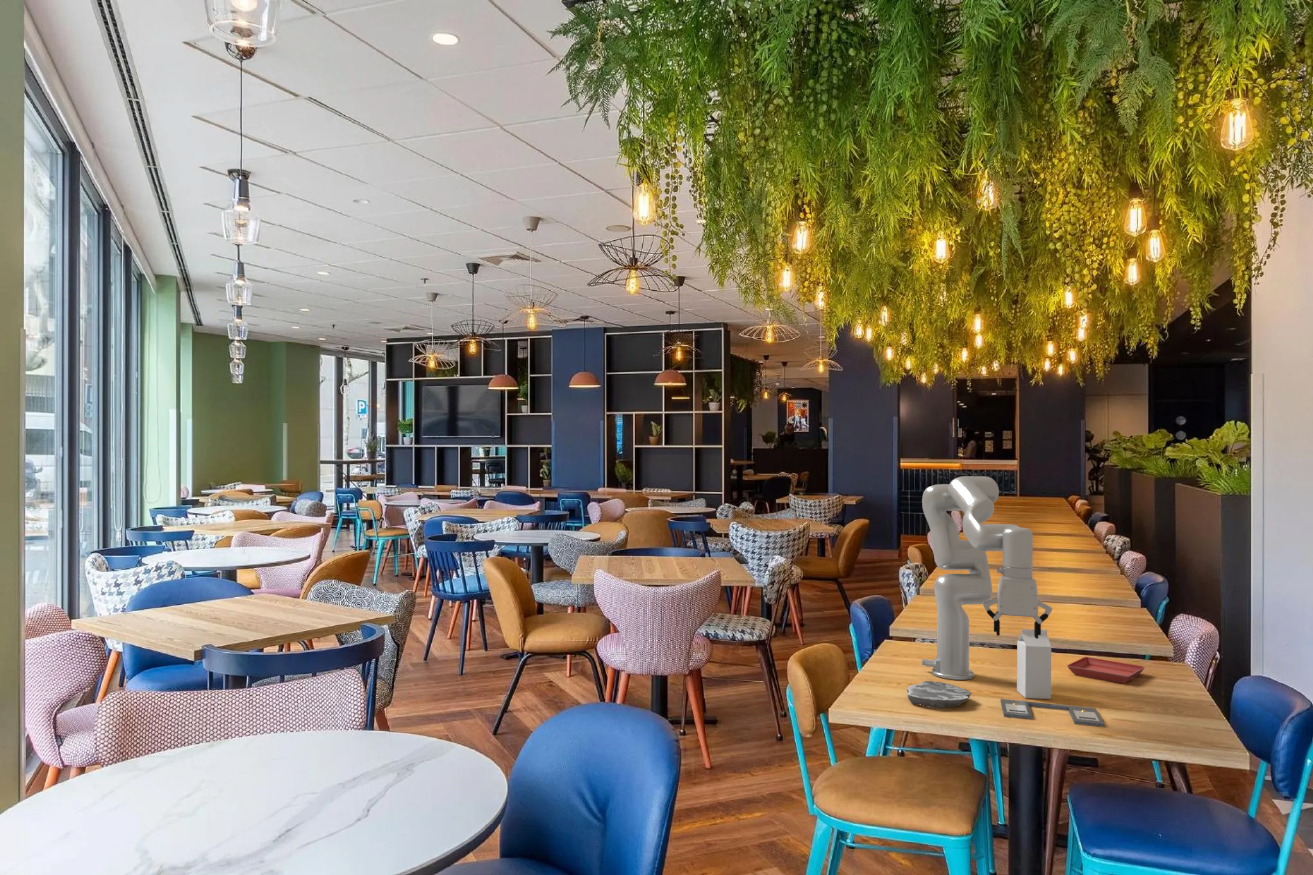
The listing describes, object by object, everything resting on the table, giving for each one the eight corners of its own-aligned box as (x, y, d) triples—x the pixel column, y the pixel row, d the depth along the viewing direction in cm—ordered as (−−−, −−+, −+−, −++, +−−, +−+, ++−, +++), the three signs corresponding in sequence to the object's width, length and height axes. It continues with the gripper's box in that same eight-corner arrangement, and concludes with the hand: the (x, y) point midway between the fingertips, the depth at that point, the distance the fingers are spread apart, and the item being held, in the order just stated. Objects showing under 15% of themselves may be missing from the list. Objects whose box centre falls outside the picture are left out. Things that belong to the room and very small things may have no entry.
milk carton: (1051, 699, 242) (1051, 632, 242) (1025, 698, 243) (1025, 632, 243) (1041, 692, 249) (1042, 627, 249) (1016, 691, 250) (1017, 626, 250)
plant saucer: (1085, 665, 282) (1085, 655, 282) (1145, 676, 270) (1145, 665, 270) (1065, 675, 269) (1065, 665, 269) (1128, 687, 257) (1128, 676, 257)
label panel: (1003, 716, 226) (1004, 712, 226) (1000, 701, 240) (1000, 698, 240) (1104, 726, 219) (1104, 723, 219) (1095, 710, 232) (1095, 707, 232)
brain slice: (962, 715, 227) (962, 704, 227) (899, 705, 236) (899, 694, 236) (977, 697, 244) (977, 687, 244) (917, 688, 253) (917, 678, 253)
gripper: (983, 573, 230) (983, 636, 230) (1053, 576, 225) (1053, 641, 225) (982, 569, 238) (982, 630, 237) (1050, 573, 232) (1050, 635, 232)
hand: (1017, 636), depth 231 cm, fingers open, 9 cm apart
